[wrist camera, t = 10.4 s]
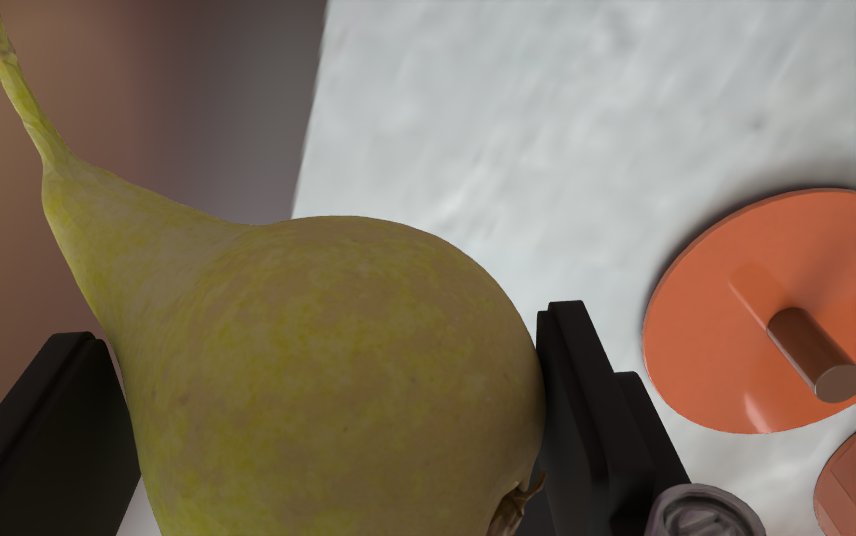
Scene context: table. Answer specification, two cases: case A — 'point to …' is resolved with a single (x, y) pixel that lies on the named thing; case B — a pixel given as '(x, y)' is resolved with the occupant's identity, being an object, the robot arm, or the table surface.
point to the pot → (838, 492)
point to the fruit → (299, 361)
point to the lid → (760, 317)
